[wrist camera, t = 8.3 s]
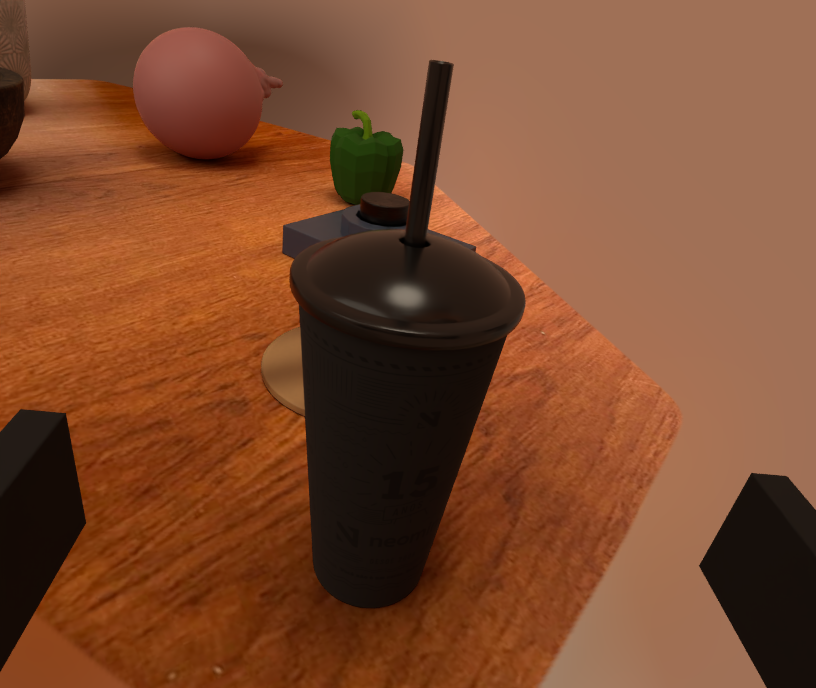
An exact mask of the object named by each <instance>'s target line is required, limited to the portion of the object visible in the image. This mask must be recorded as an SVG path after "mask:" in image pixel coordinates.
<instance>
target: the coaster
mask: <svg viewBox="0 0 816 688" xmlns="http://www.w3.org/2000/svg"><path fill="white" fill-rule="evenodd" d="M261 374H262V378H263V381H264V383H265V386H266V387H267V389H268V390H269V392H270V393H271V394H272V395H273V396H274V397H275V398H276V399H277V400H278V401H279V402H280V403H282V404H283V405H284V406H286V407H287V408H289V409H291V410H293V411H294V412H296V413H298V414H301V415H303V416H305V406H304V387H303V369H302V351H301V333H300V327H298V328H295V329H292V330H290V331H288V332H286V333H284V334H282V335H281V336H279V337H278V338H276V339H275V340H274V341H273V342H272V343H271V344H270V345H269V346H268V347H267V349H266V351H265V352H264V354H263V358H262V364H261Z"/></svg>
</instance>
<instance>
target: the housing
mask: <svg viewBox="0 0 816 688" xmlns="http://www.w3.org/2000/svg"><path fill="white" fill-rule="evenodd" d="M359 214H360V204H359V205H355V206H351V207H347V208H346V209H344V210H340V211H336V212H332V213H328V214H324V215H321V216H317V217H313V218H309V219H305V220H301V221H298V222H294V223H290V224H286V225H283V253H284V254H286V255H288V256H290V257H293V258H296V256H297V255H298V254H299V253H300V252H302V251H303V250H304V249H306V248H308V247H309V246H312V245H314V244H316V243H319V242H322V241H325V240H329V239H333V238H338V237H344V236H348V235H351V234H355V233H359V232H364V231H370V230H380V229H404V230H406V225H405V226H402V227H385V226H379V225H372V224H369V223H367V222H364V221H361V220H360V219H359ZM427 233H430V234H434V235H437V236H441V237H444V238H447V239H449V240H452V241H455V242H457V243H459V244H461V245H463V246H465V247H467V248H469V249H471V250H472V251H474V252H475V251H476V246H473V245H470V244H467V243H465V242H462V241H459V240H456V239H454V238H451V237H448V236H445V235H442V234H440V233H437V232H434V231H431V230H427Z"/></svg>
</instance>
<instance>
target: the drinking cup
mask: <svg viewBox="0 0 816 688" xmlns="http://www.w3.org/2000/svg"><path fill="white" fill-rule="evenodd" d="M453 66H454V65H453V63H449V62H444V61H436V60H430V61H429V66H428V73H427V80H426V88H425V94H424V102H423V109H422V117H421V123H420V131H419V138H418V145H417V153H416V160H415V166H414V174H413V181H412V188H411V195H410V202H409V209H408V217H407V224H406V230H404V229H380V230H370V231H364V232H359V233H355V234H351V235H348V236H344V237H338V238H333V239H329V240H325V241H322V242H319V243H316V244H314V245H312V246H309V247H308V248H306V249H304V250H303V251H302V252H300V253H299V254H298V255H297V256H296V258H295V259H294V261H293V263H292V265H291V268H290V279H289V280H290V288H291V291H292V294H293V296H294V297H295V299H296V301H297V302H298V303H299V315H300V333H301V351H302V369H303V387H304V406H305V424H306V442H307V460H308V479H309V497H310V515H311V533H312V552H313V565H314V570H315V573H316V576H317V578H318V580H319V581H320V583H321V584H322V586H323V587H324V588H325V589H326V590H327V591H328V592H329V593H330V594H331V595H332V596H334V597H335V598H337V599H339V600H340V601H342V602H345V603H347V604H350V605H353V606H357V607H364V608H377V607H384V606H388V605H391V604H394V603H396V602H398V601H400V600H401V599H403V598H405V597H406V596H407V595H408V594H409V593H411V592H412V590H413V589H414V588H415V587H416V585H417V584H418V582H419V580H420V577H421V574H422V572H423V569H424V566H425V563H426V560H427V558H428V555H429V552H430V549H431V547H432V544H433V541H434V538H435V535H436V533H437V530H438V527H439V524H440V521H441V519H442V516H443V513H444V510H445V507H446V505H447V502H448V499H449V496H450V493H451V491H452V488H453V485H454V482H455V479H456V477H457V474H458V471H459V468H460V466H461V463H462V460H463V457H464V454H465V452H466V449H467V446H468V443H469V440H470V438H471V435H472V432H473V429H474V426H475V424H476V421H477V418H478V415H479V412H480V410H481V407H482V404H483V401H484V399H485V396H486V393H487V390H488V387H489V385H490V382H491V379H492V376H493V373H494V371H495V368H496V365H497V362H498V359H499V357H500V354H501V351H502V348H503V345H504V343H505V340H506V337H507V335H508V334H509V333H510V332H512V331H513V330H514V329H515V328H516V326H517V325H518V324H519V322H520V321H521V319H522V316H523V313H524V309H525V295H524V292H523V289H522V287H521V286H520V284H519V283H518V282H517V280H516V279H515V278H514V277H513V276H512V275H511V274H509V273H508V272H507V271H506V270H504V269H503V268H501V267H500V266H498V265H497V264H495V263H493V262H492V261H490V260H488V259H486V258H484V257H482V256H480V255H479V254H477V253H476V252H474V251H472V250H471V249H469V248H467V247H465V246H463V245H461V244H459V243H457V242H455V241H452V240H449V239H447V238H444V237H441V236H437V235H434V234H430V233H427V230H428V224H429V217H430V211H431V205H432V198H433V192H434V186H435V179H436V173H437V167H438V160H439V154H440V148H441V141H442V135H443V129H444V123H445V116H446V110H447V103H448V97H449V91H450V85H451V78H452V72H453Z"/></svg>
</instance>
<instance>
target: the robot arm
mask: <svg viewBox="0 0 816 688" xmlns="http://www.w3.org/2000/svg"><path fill="white" fill-rule="evenodd" d="M85 524H86V520H85V514H84V509H83V504H82V498H81V493H80V487H79V482H78V477H77V471H76V466H75V460H74V455H73V450H72V444H71V439H70V433H69V428H68V423H67V417H66V413H57V412H45V411H34V410H22V409H20V411H19V412H18V413H17V414H16V415H15V416H14V417H13V418H12V420H11V421H10V422H9V423H8V424H7V425H6V426H5V427H4V428H3V430H2V431H1V432H0V671H1V670H2V668H3V666H4V664H5V663H6V661H7V659H8V657H9V656H10V654H11V652H12V650H13V649H14V647H15V645H16V644H17V642H18V640H19V638H20V637H21V635H22V633H23V632H24V630H25V628H26V626H27V625H28V623H29V621H30V619H31V618H32V616H33V614H34V612H35V611H36V609H37V607H38V605H39V604H40V602H41V600H42V599H43V597H44V595H45V593H46V592H47V590H48V588H49V586H50V585H51V583H52V581H53V579H54V578H55V576H56V574H57V572H58V571H59V569H60V567H61V565H62V564H63V562H64V560H65V559H66V557H67V555H68V553H69V552H70V550H71V548H72V546H73V545H74V543H75V541H76V539H77V538H78V536H79V534H80V532H81V531H82V529H83V527H84V526H85ZM699 566H700V568H701V570H702V572H703V574H704V576H705V577H706V579H707V581H708V583H709V585H710V586H711V588H712V590H713V592H714V593H715V595H716V597H717V599H718V601H719V602H720V604H721V606H722V608H723V610H724V612H725V613H726V615H727V617H728V619H729V621H730V622H731V624H732V626H733V628H734V630H735V631H736V633H737V635H738V637H739V639H740V640H741V642H742V644H743V646H744V647H745V649H746V651H747V653H748V655H749V657H750V658H751V660H752V662H753V664H754V666H755V667H756V669H757V671H758V673H759V674H760V676H761V678H762V680H763V682H764V684H765V685H766V687H767V688H816V510H815V509H814V508H813V506H812V505H811V504H810V503H809V502H808V500H807V499H806V498H805V497H804V496H803V495H802V493H801V492H800V491H799V490H798V489H797V488H796V486H795V485H794V484H793V483H792V482H791V481H790V479H789V478H788V477H787V476H779V475H768V474H756V473H751V475H750V477H749V478H748V480H747V482H746V484H745V486H744V487H743V489H742V491H741V493H740V494H739V496H738V498H737V500H736V501H735V503H734V505H733V507H732V508H731V510H730V512H729V514H728V516H727V517H726V519H725V521H724V523H723V524H722V526H721V528H720V530H719V532H718V533H717V535H716V537H715V539H714V540H713V542H712V544H711V546H710V547H709V549H708V551H707V553H706V555H705V556H704V558H703V560H702V562H701V563H700V565H699Z"/></svg>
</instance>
